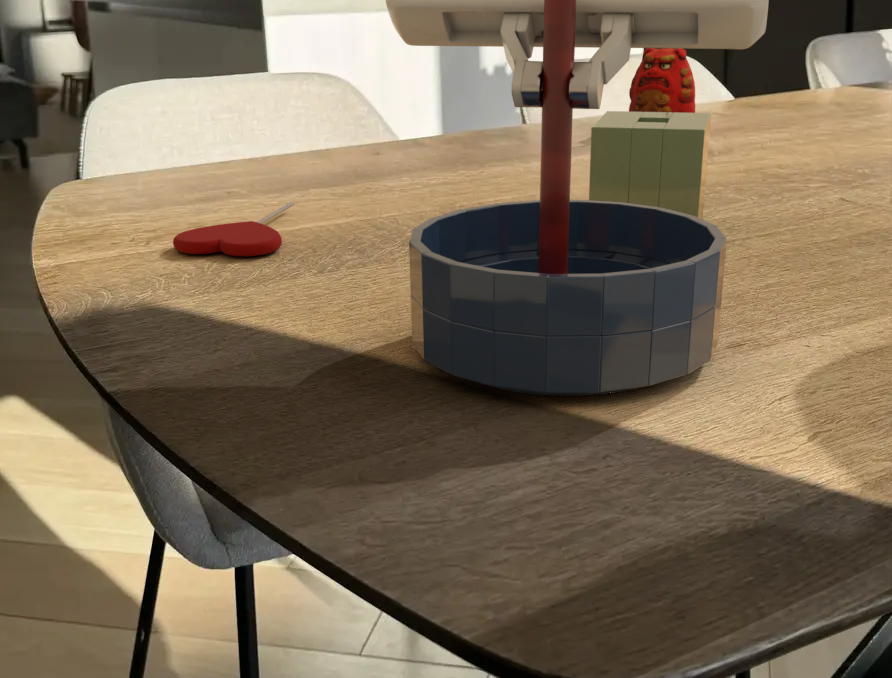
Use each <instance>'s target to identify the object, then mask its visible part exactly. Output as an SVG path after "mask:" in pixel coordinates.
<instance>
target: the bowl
mask: <svg viewBox="0 0 892 678" xmlns="http://www.w3.org/2000/svg"><path fill="white" fill-rule="evenodd" d="M539 219H540V199H535V200H533V199H532V200H522V201H521V200H520V201H509V202H507V201H506V202H497V203H489V204H483V205H478V206H473V207H466V208H461V209H457V210H453V211H450V212H447V213H444V214H439V215H437V216H434V217H430V218H428V219H426V220H425V221H423V222H422V223H420V224H419V225H416V227H414V228H412V230H411V233H410V237H409V241H408V254H409V281H410V282H409V286H410V312H411V313H410V314H411V342H412V343H411V344H412V346H413V348H414V349H415V351H416V352H417V353H418V354H419V356H420V357H421V358H422V360H423V361H425V362H426V363H428V364H430V365H432V366H433V367H435V368H438V369H439V370H441V371H443V372H445V373H447V374H449V375H451V376H453V377H457V378H460V379H463V380H468V381H472V382H475V383H477V384H481V385H483V386H487V387H490V388H491V387H492V388H495V389H498V390H503V391H509V392H514V393H520V394H529V395H537V396H548V395H553V396H554V397H556V396H555V395H560V396H559V397H570V396H569V395H572V396H571V397H586V396H585V395H588V396H595V395H594V394H597V395H596V396H599V395H598V394H602V395H608V394H607V393H610V392H611V393H610V394H613V393H612V392H618V393H622V392H621V391H623V392H628V391H627V390H629V391H633V390H638V389H641V388H644V387H650V386H654V385H657V384H661V383H664V382H667V381H670V380H673V379H677V378H680V377H684V376H688V375H689V374H691V373H692V372H694V371H696V370H697V369H699V368H700V367H702V366H704V365H705V364H707V363H708V362H710V361H711V360H712V358H713V355H714V353H715V350H716V348H717V346H718V344H719V332H720V322H721V321H720V320H721V310H722V298H723V286H724V277H725V265H726V264H725V263H726V255H727V254H726V252H727V243H728V240H727V237H726V236H725V234H724V233H723V232H722V230H721V229H720V228H719V226H717V225H715V224H713V223H712V222H711V223H710V222H709V221H707V220H705V219H700V218H698V217H696V216H693V215H689V214H685V213H681V212H677V211H673V210H669V209H665V208H661V207H654V206H646V205H639V204H632V203H625V202H609V201H592V200H589V199H570V209H569V240H568V271H567V274H544V273H538V266H539ZM603 393H604V394H603ZM553 396H552V397H553Z"/></svg>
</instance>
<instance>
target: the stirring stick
mask: <svg viewBox="0 0 892 678" xmlns="http://www.w3.org/2000/svg"><path fill="white" fill-rule="evenodd" d="M575 24H576V0H544V30H543V47H542V61H543V77H542V107H541V125H540V127H541V128H540V129H541V130H540V131H541V132H540V133H541V134H540V174H539V175H540V178H539V179H540V180H539V200H540V219H539V266H538V273H544V274H567V271H568V240H569V209H570V200H571V177H572V176H571V175H572V173H571V172H572V144H573V143H572V142H573V117H574V116H573V115H574V114H573V113H574V112H573V110H574V109H572V108H571V105H570V103H571V99H570V98H569V84H570V79H571V78H572V73H571V72H572V67H573V64H574V62H575V52H576V51H575V50H576V47H575Z"/></svg>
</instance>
